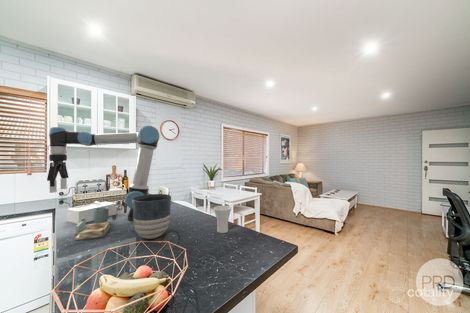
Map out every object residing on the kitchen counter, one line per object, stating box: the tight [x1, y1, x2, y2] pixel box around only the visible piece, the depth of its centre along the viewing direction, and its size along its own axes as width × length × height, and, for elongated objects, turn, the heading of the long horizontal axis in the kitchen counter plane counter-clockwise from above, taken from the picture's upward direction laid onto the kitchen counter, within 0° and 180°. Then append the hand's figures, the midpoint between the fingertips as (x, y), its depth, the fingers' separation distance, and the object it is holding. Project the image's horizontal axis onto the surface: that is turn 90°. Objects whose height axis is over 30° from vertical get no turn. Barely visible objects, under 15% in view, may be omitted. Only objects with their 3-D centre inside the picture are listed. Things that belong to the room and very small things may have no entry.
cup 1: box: [93, 207, 110, 224], centre depth 125 cm, size 8×8×10 cm
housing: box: [74, 221, 111, 241], centre depth 109 cm, size 13×14×4 cm
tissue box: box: [66, 200, 118, 225], centre depth 139 cm, size 14×25×11 cm, turn 154°
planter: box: [132, 193, 172, 240], centre depth 105 cm, size 20×20×21 cm
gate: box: [75, 218, 86, 235], centre depth 113 cm, size 1×12×6 cm, turn 23°
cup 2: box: [213, 205, 232, 234], centre depth 113 cm, size 10×10×14 cm
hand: (58, 190), depth 112 cm, fingers open, 13 cm apart
